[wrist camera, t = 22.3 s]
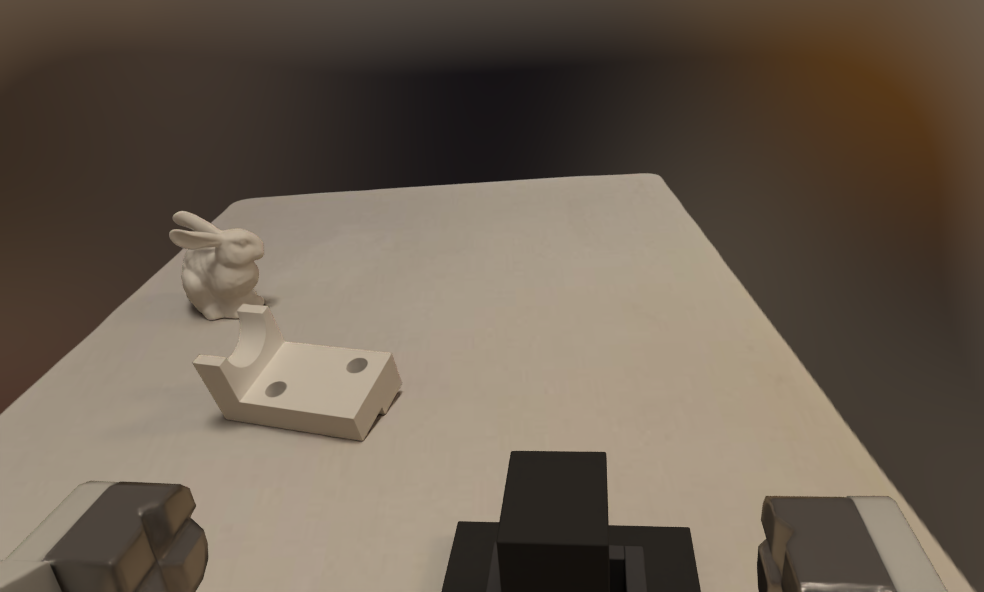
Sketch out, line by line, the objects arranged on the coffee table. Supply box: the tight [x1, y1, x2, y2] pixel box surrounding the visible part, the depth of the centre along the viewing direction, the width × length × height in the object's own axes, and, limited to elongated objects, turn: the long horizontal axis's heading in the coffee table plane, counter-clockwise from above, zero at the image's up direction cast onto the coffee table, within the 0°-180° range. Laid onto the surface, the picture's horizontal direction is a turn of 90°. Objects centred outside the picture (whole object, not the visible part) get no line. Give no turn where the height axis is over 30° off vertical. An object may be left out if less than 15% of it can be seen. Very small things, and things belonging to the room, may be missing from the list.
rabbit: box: [169, 211, 264, 320], centre depth 78 cm, size 12×9×12 cm
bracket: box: [193, 304, 402, 441], centre depth 58 cm, size 13×7×8 cm, turn 70°
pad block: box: [496, 451, 610, 592], centre depth 33 cm, size 4×6×10 cm
